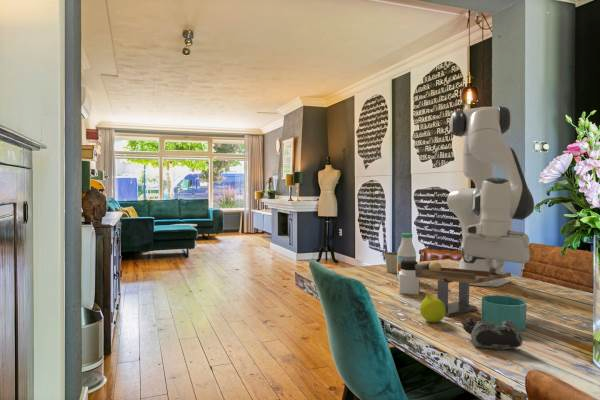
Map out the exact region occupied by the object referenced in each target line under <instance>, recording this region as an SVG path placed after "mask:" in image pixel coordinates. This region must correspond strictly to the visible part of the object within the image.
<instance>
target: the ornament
mask: <svg viewBox="0 0 600 400" xmlns="http://www.w3.org/2000/svg"><path fill="white" fill-rule="evenodd" d="M424 289H425V290H424V291H425V296H424V298H423V300H422V301H421V303H420V306H419V311H420V312H419V313H420V315H421V317H422V318H423V319H424V320H425V321H426V322H429V323H439V322H440V321H442V320H443V319H444V317H446V316H445V313H446V309H445V306H444V304H443V302H442V301H441V300H439V299H438V298H437V297H435V296H432V295H431V294H429V292H428V290H427V289H426V288H424Z"/></svg>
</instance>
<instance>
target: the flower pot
mask: <svg viewBox="0 0 600 400" xmlns="http://www.w3.org/2000/svg"><path fill="white" fill-rule="evenodd" d="M397 253H398V251H397V252H393V251H392V252H391V251H390V252H389V251H387V252H383V255H384V258H385V263H386V272H387V273H390V274H397Z"/></svg>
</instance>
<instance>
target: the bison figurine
mask: <svg viewBox="0 0 600 400" xmlns="http://www.w3.org/2000/svg"><path fill="white" fill-rule="evenodd" d="M461 325H462V326H463V327H462V328H463V330H464V331H465V332H466V333H467V334H468V335H470V338H471V344H472V345H473V347H476V348H480V349H493V350H497V351H499V350H500V351H501V350H502V351H503V350H511V349H516V348H519V347H522V345H523V341H524V338H523V334H522V331H520V330H519V328H518V327H517V326H516V325H515V324H514V323H513V322H511V321H503V322H502V326H497V325H496V324H494V323H489V322H484V321H481V320H479V321H477V322H476V320H474V319H472V318H471V317H467V318H466V319H465V320H464V321H461Z"/></svg>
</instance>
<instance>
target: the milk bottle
mask: <svg viewBox="0 0 600 400" xmlns="http://www.w3.org/2000/svg"><path fill="white" fill-rule="evenodd" d="M400 236H401V237H400V238H401V242H400V246H399V247H398V249H397V252H398V253H397V273H396V279H397V281H398V282H399V271H401V261H402V260H415V261H417V254H416V253H417V252H416V249H415V247H414V244H413V233H412V232H410V233H409V232H402V233H401V235H400Z"/></svg>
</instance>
